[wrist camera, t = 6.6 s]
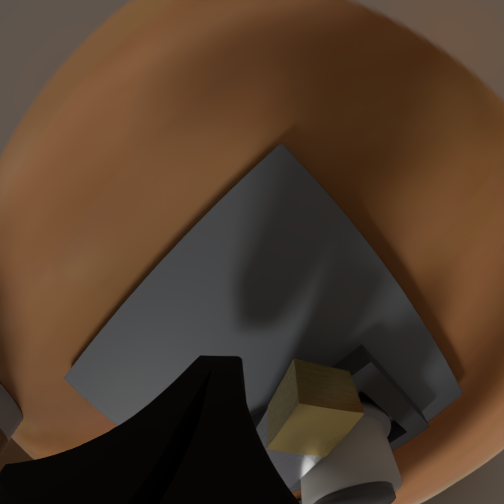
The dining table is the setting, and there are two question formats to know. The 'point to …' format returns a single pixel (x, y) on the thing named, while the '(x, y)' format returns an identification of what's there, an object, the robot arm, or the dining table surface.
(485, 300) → the dining table surface
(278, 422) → the clip
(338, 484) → the plug
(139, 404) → the panel
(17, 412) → the coffee cup
